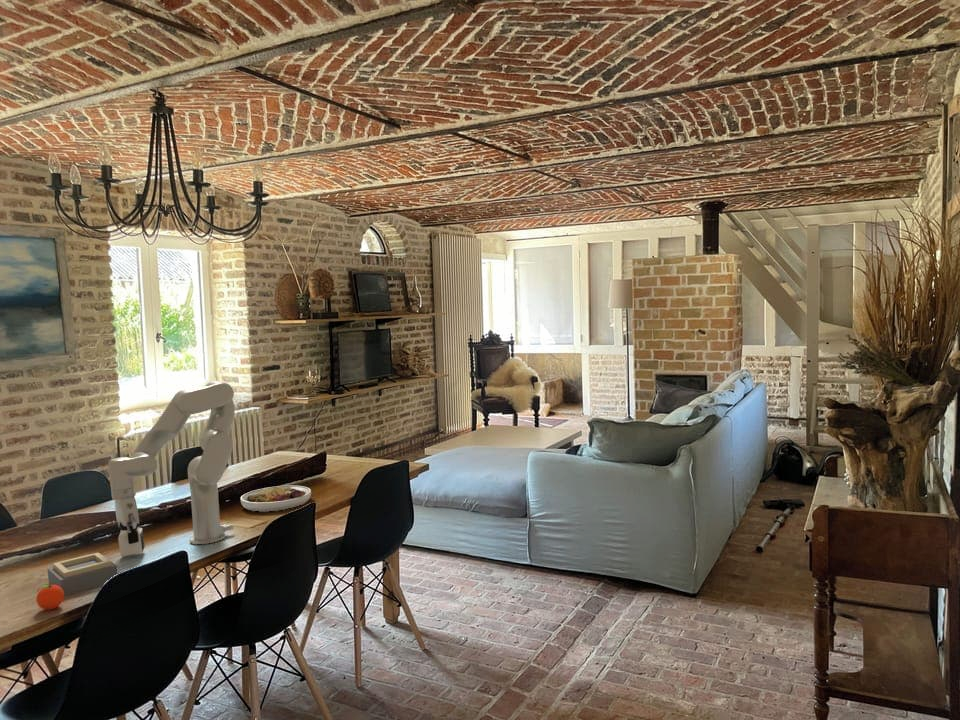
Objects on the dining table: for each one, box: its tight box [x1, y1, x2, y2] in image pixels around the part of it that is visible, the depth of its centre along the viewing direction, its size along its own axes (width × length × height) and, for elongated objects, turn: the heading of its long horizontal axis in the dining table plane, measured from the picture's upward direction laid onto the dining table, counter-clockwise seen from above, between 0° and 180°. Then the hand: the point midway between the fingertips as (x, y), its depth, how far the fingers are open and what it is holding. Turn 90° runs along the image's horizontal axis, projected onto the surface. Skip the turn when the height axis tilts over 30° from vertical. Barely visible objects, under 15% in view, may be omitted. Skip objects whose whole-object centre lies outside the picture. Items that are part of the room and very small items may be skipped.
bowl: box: [240, 484, 312, 513], centre depth 312 cm, size 30×30×8 cm
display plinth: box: [46, 552, 119, 596], centre depth 225 cm, size 16×16×6 cm
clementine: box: [35, 584, 65, 611], centre depth 205 cm, size 8×7×7 cm
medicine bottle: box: [117, 522, 146, 557], centre depth 249 cm, size 7×7×12 cm
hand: (129, 540), depth 249 cm, fingers closed on medicine bottle, 9 cm apart
